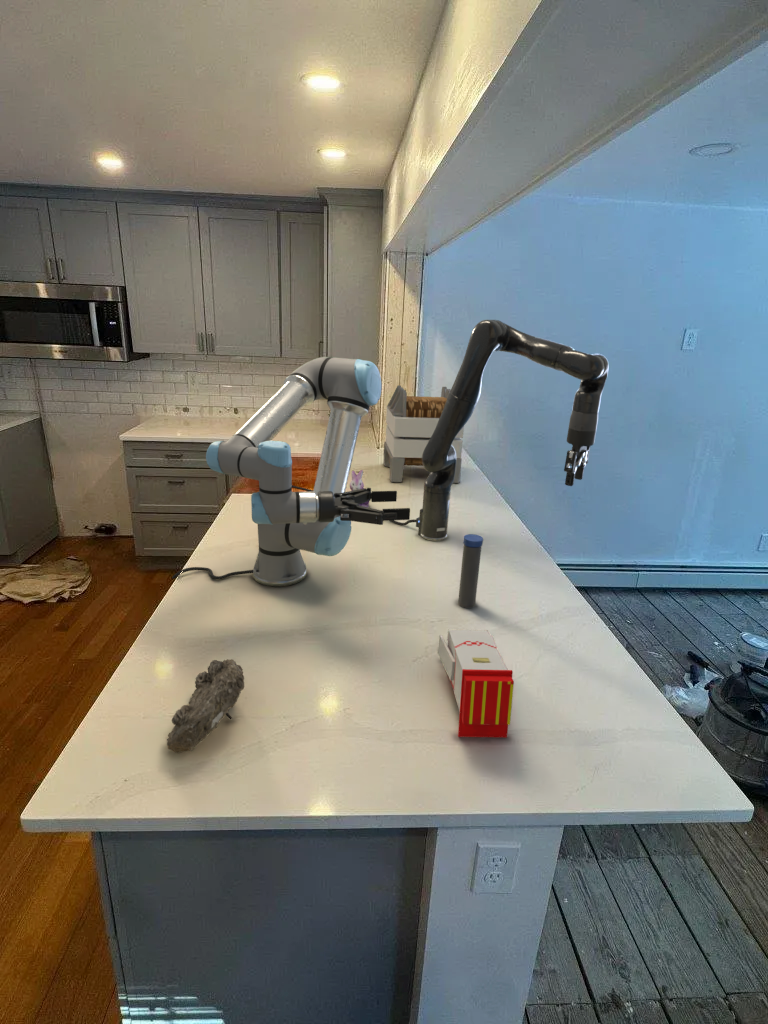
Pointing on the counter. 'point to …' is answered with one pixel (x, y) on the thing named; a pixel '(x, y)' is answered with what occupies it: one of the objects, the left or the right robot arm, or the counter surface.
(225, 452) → the left robot arm
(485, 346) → the right robot arm
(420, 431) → the grey storage crate
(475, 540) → the lid
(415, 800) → the counter surface
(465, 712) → the toy
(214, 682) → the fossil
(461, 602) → the grey cylinder
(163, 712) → the counter surface
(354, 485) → the figurine
